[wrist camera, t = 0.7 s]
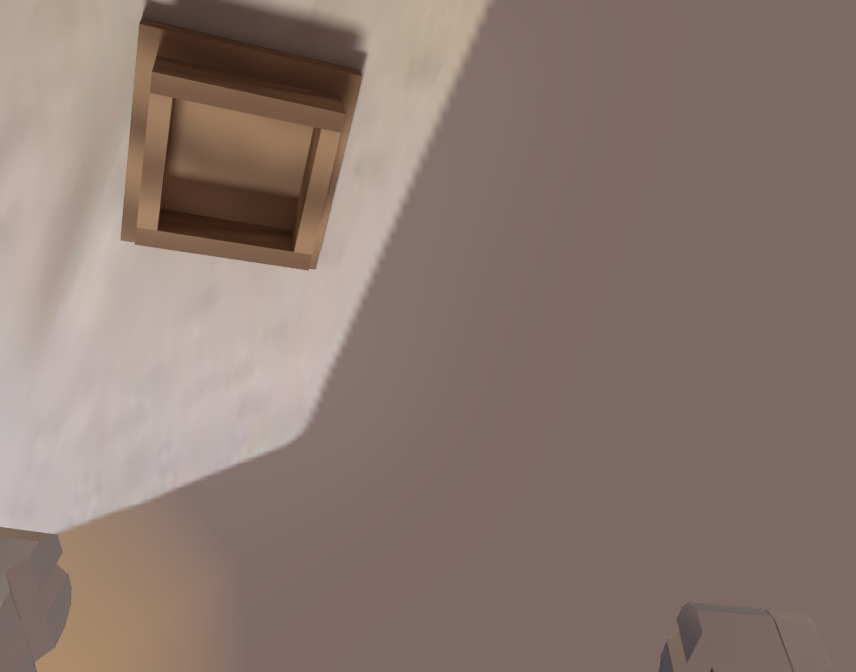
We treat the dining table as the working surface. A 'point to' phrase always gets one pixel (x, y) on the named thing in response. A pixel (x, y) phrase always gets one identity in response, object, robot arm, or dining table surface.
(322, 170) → the walnut rack
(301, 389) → the dining table surface
